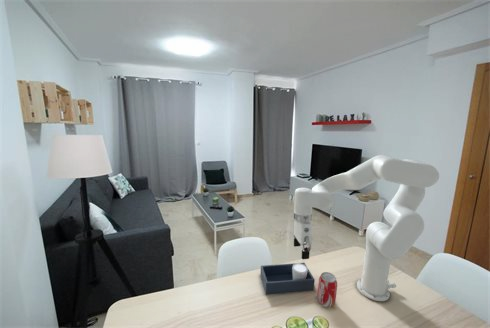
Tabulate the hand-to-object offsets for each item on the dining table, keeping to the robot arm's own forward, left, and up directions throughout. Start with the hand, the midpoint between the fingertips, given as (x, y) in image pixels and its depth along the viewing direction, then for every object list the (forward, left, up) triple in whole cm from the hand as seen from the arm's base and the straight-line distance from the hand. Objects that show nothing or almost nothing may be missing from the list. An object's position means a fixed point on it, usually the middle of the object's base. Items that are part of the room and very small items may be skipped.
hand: (301, 252), depth 99 cm
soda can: (-7, +12, -16) cm, 21 cm away
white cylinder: (0, 0, -15) cm, 15 cm away
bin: (+6, 0, -16) cm, 17 cm away
